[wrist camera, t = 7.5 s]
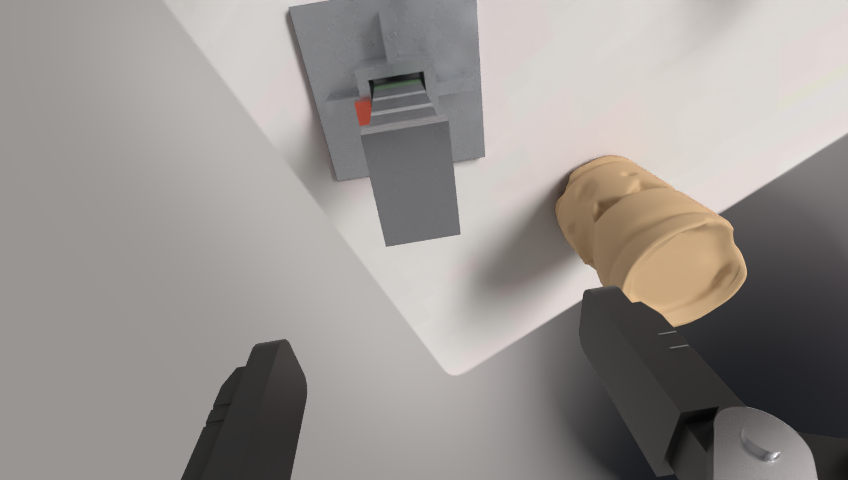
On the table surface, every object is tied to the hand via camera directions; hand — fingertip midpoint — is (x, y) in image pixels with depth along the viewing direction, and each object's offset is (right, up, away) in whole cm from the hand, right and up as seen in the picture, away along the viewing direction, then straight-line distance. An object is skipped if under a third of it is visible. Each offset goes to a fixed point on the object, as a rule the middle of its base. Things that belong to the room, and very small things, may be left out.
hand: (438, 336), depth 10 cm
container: (+23, +8, +41) cm, 48 cm away
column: (-3, +15, +25) cm, 29 cm away
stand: (-3, +19, +31) cm, 37 cm away
